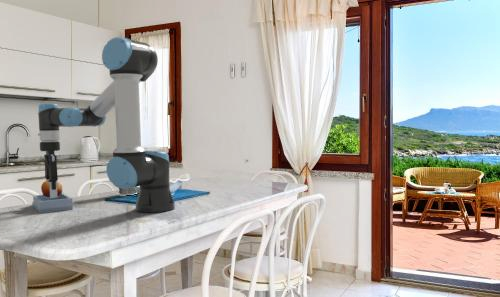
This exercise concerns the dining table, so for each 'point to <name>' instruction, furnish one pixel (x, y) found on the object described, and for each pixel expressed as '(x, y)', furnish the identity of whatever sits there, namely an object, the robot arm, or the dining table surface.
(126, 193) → the decorative candle
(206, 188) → the dining table surface
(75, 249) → the dining table surface
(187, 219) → the dining table surface
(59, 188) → the fruit
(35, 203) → the blue-grey open box
